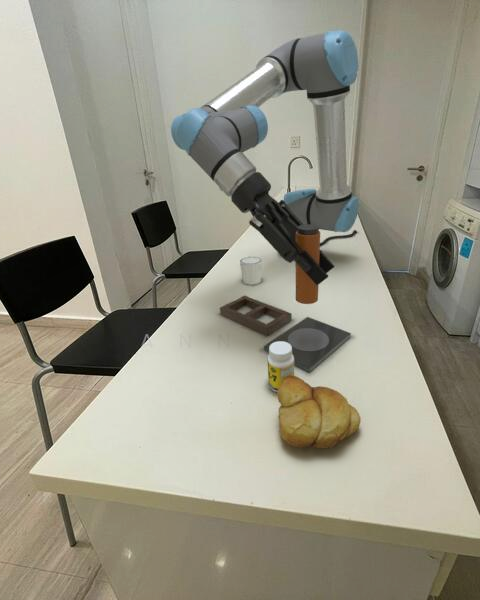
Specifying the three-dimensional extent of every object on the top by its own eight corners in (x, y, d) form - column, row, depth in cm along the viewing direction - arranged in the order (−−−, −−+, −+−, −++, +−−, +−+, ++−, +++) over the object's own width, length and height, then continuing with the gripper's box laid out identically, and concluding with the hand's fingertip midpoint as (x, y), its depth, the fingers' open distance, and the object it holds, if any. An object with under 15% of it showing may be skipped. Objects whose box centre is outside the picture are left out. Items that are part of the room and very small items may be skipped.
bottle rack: (245, 301, 92) (244, 295, 91) (291, 320, 82) (291, 313, 81) (220, 314, 86) (219, 307, 85) (267, 336, 76) (267, 328, 75)
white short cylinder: (260, 286, 101) (259, 264, 98) (238, 284, 102) (236, 263, 99) (265, 277, 107) (264, 256, 104) (244, 276, 108) (243, 255, 105)
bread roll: (357, 411, 55) (361, 373, 51) (363, 463, 46) (368, 422, 43) (280, 405, 57) (279, 368, 53) (272, 454, 48) (270, 413, 44)
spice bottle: (304, 292, 71) (305, 222, 64) (322, 298, 68) (325, 226, 61) (291, 299, 68) (290, 227, 61) (309, 306, 65) (311, 231, 58)
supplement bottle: (264, 380, 62) (262, 343, 59) (287, 373, 64) (286, 337, 60) (274, 396, 58) (273, 358, 55) (298, 388, 60) (298, 351, 56)
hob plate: (307, 320, 82) (307, 316, 81) (350, 336, 74) (351, 332, 74) (263, 349, 71) (263, 345, 71) (309, 372, 64) (309, 368, 63)
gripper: (251, 191, 72) (323, 270, 74) (208, 207, 57) (299, 305, 59) (273, 165, 68) (348, 249, 69) (233, 175, 53) (330, 282, 55)
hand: (325, 275), depth 64 cm, fingers closed on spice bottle, 5 cm apart
